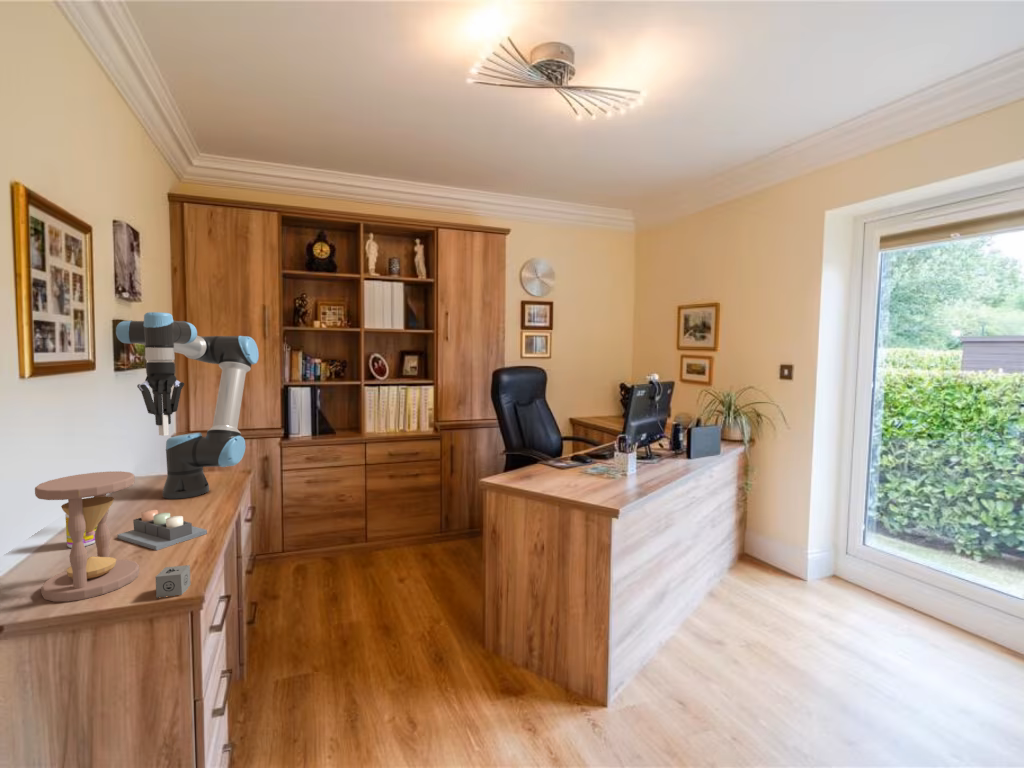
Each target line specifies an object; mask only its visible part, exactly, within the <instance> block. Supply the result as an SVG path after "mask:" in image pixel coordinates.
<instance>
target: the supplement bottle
mask: <svg viewBox="0 0 1024 768" xmlns="http://www.w3.org/2000/svg"><path fill="white" fill-rule="evenodd" d="M82 499H84V498H82ZM68 520H69V516H68V515H67V514H66V513H65V531H66V533H65V534H66V535H65V536H66V546H67V547H68V548H70V549H72V545H73V541H72V539H71V537H70V534H69V532H68ZM96 528H97V526H96V527H95V529H94V531H95V532H96ZM86 532H87V531H86V530H85V532H84V536H83V540H82V542H83V544H84V546H85V547H89V546H90V545H93V544H96V543H95V534H94V535H91V536H86V534H85V533H86Z"/></svg>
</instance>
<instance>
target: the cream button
mask: <svg viewBox="0 0 1024 768" xmlns="http://www.w3.org/2000/svg"><path fill="white" fill-rule="evenodd" d="M183 521H184V516H182V515H175V516H174V515H173V516H170V517H169V518H167V519H166V528H170V529H171V528H175V527H178V526H181V525H183Z"/></svg>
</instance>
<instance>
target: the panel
mask: <svg viewBox="0 0 1024 768" xmlns="http://www.w3.org/2000/svg"><path fill="white" fill-rule="evenodd" d="M207 534H208V529H205V528H201V527H197V526H193V525H192V522H189V521H185V520H183V525H181V526H178V527H175V528H171V529H170V528H166V523H164V524H160V525H155V524H154V520H151V521H147V522H144V521H142V518H141V517H139V518H135V519H133V529H132V530H128V531H124V532H121V533H118V534H117V539H118V540H122V541H125V542H128V543H130V544H135V545H138V546H140V547H145V548H147V549H152V550H153V551H159V550H162V549H165V548H168V547H172V546H174V545H177V544H180V543H183V542H185V541H189V540H192V539H195V538H199V537H201V536H204V535H207ZM179 542H180V543H179ZM176 543H177V544H176Z"/></svg>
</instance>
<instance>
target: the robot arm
mask: <svg viewBox="0 0 1024 768" xmlns="http://www.w3.org/2000/svg"><path fill="white" fill-rule="evenodd" d="M173 317H174V316H173V315H172V314H171V313H169V312H158V311H157V312H156V311H153V312H152V311H151V312H150V311H149V312H145V314H144V315H143V320H123V321H120V322H119V323H118V324H117V325H116V327H115V334H116V338H117V340H118V341H119V342H121V343H123V344H130V345H133V344H134V345H135V344H136V345H137V344H138V345H143V346H144V353H145V354H144V355H145V360H146V361H148V362H146V363H145V373H146V378H145V381H143V382H142V383H138V384H137V388H138V390H139V391H140V392H141V394H142V395H141V396H142V398H143V401H144V405H145V407H146V410H147V413H148V414H149V415H153V416H154V418H155V419H154V420H155V425H156V426H158V436H163V437H165V436H170V431H169V430H170V428H169V425H171V423H172V420H171V419H172V418H171V417H172V415H173V413H176V412H177V411H178V409H179V408H178V407H179V402H180V398H181V392H182V389H183V387H185V383H184V382H183V381H179V380H177V377H176V375H175V374H176V363H175V362H174V361H175V359H176V358H175V356H176V355H175V353H176V354H182V355H184V356H185V357H186V358H187V359H190V360H195V361H198V362H203V363H207V364H212V365H218V367H219V368H220V369H221V375H220V381H219V386H218V392H217V399H216V403H215V404H216V405H215V410H214V416H213V422H212V426H211V428H209V429H207V431H206V436H203V434H202V432H193V433H192V432H191V433H187V434H184V433H183V434H179V435H175V436H174V435H173V436H171V437H169V438H167V440H166V441H165V457H166V470H167V476H166V480H165V482H164V486H163V488H162V497H163V498H164V499H168V500H169V499H170V500H177V499H178V500H179V499H187V498H194V497H198V496H201V494H202V495H204V493H205V494H207V493H209V491H210V484H209V482H208V480H207V477H206V474H205V473H204V468H207V467H208V468H209V467H211V468H212V467H213V468H214V467H218V468H219V467H221V468H226V467H233V466H236V465H237V464H239V463H240V462H241V461H242V459H243V458H244V456H245V453H246V452H245V451H246V440H245V438H244V436H242V433H241V431H240V430H239V429H238V426H239V420H240V414H241V408H242V400H243V394H244V388H245V382H246V381H245V380H246V375H247V373H248V372H250V371H251V369H252V365H256V364H257V363H258V362H259V355H260V354H259V349H258V348H259V347H258V345H257V342H256V341H255V340H254V338H252V337H251V336H248V335H247V336H246V335H245V336H244V335H224V336H223V335H211V336H202V335H200V336H199V335H198V330H197V328H196V327H195V325H194V324H192V323H191V322H187V321H185V320H182V321H181V320H179V321H178V320H174V319H173ZM150 388H151V390H152V392H151V391H150ZM172 388H173V389H172ZM151 393H152V394H151ZM152 395H153V396H152ZM206 492H207V493H206Z"/></svg>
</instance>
